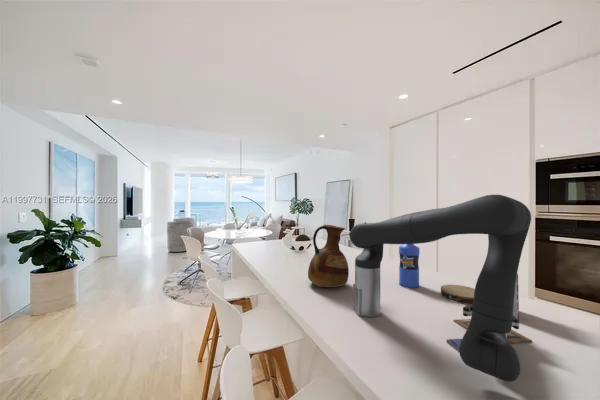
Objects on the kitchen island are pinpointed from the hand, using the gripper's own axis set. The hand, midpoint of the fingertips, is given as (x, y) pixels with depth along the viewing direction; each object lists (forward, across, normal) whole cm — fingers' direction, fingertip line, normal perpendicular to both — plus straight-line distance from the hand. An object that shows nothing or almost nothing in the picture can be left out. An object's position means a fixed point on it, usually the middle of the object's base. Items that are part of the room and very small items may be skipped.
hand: (489, 307), depth 80 cm
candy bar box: (+18, -5, +7) cm, 20 cm away
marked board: (-3, 0, +7) cm, 7 cm away
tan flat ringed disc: (+26, +10, +7) cm, 28 cm away
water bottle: (+26, +32, +7) cm, 42 cm away
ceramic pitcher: (+1, +64, +7) cm, 64 cm away
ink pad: (-19, +2, +7) cm, 20 cm away
